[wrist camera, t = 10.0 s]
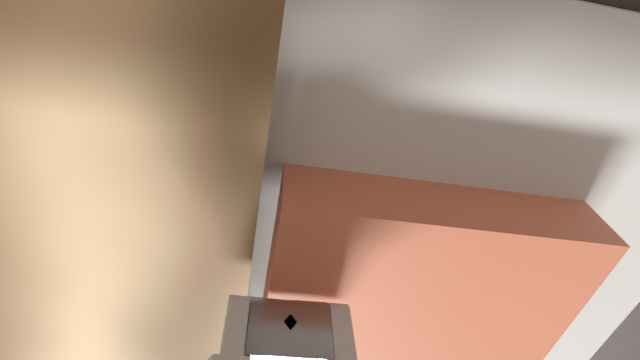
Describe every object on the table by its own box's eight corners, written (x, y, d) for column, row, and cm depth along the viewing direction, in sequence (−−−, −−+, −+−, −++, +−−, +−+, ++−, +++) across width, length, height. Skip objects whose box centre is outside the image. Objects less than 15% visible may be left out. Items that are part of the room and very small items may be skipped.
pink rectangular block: (585, 201, 12) (630, 247, 11) (502, 329, 16) (527, 380, 14) (283, 162, 11) (282, 208, 9) (260, 311, 14) (256, 364, 13)
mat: (830, 51, 11) (852, 57, 10) (543, 395, 19) (548, 405, 19) (292, -59, 9) (291, -57, 8) (236, 378, 17) (234, 390, 17)
